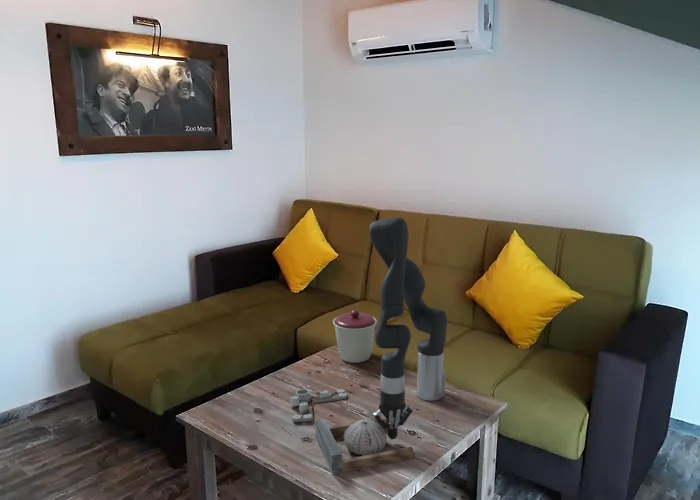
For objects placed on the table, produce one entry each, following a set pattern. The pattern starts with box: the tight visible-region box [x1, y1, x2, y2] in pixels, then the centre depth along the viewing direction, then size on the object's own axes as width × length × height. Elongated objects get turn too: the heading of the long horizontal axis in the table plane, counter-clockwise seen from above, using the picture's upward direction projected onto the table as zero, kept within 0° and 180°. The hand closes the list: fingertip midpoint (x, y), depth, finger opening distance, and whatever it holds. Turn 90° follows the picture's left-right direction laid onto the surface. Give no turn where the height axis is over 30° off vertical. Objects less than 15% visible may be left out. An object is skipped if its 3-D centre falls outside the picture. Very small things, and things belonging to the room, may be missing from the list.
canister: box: [332, 309, 378, 364], centre depth 236 cm, size 18×18×21 cm
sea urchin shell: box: [343, 419, 388, 456], centre depth 175 cm, size 13×14×8 cm
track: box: [314, 416, 414, 475], centre depth 174 cm, size 25×20×6 cm
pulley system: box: [289, 388, 348, 423], centre depth 201 cm, size 27×5×15 cm
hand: (392, 437), depth 177 cm, fingers closed
